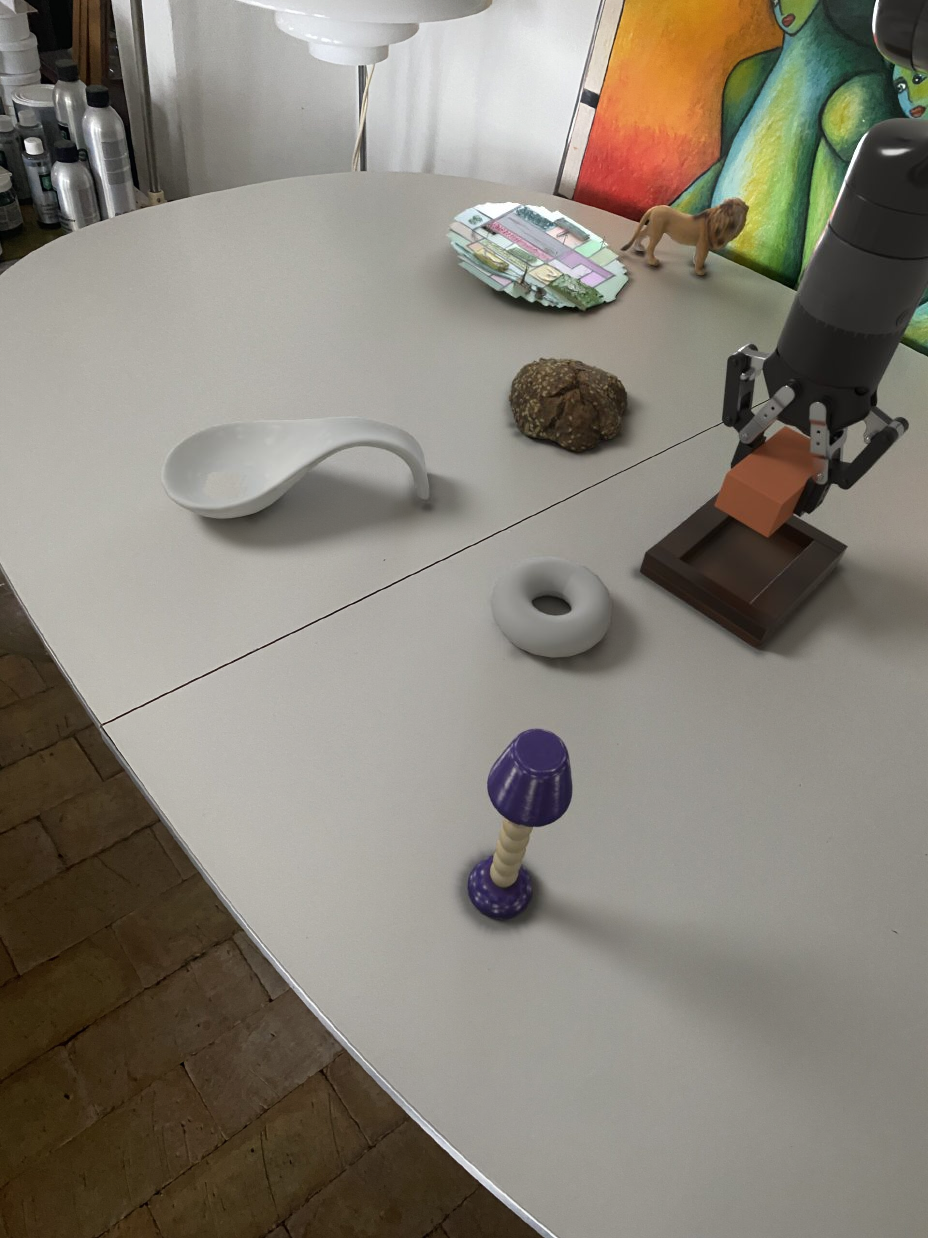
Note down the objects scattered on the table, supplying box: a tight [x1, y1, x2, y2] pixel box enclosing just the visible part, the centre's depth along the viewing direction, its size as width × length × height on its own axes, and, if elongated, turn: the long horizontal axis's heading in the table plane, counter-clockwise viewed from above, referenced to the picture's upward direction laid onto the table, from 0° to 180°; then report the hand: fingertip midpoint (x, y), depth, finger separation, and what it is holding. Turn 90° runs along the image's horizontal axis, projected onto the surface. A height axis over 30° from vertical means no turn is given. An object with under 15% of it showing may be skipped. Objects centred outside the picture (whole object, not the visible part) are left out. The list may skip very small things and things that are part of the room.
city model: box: [444, 201, 629, 312], centre depth 109 cm, size 25×23×6 cm
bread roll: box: [508, 357, 629, 453], centre depth 89 cm, size 13×12×5 cm
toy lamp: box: [467, 728, 574, 920], centre depth 51 cm, size 5×5×17 cm
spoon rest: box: [160, 415, 430, 519], centre depth 78 cm, size 24×12×7 cm, turn 99°
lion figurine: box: [619, 196, 750, 276], centre depth 111 cm, size 15×5×9 cm, turn 79°
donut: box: [490, 555, 614, 659], centre depth 71 cm, size 10×4×10 cm
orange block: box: [715, 425, 813, 538], centre depth 70 cm, size 9×5×4 cm, turn 136°
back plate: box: [639, 490, 848, 650], centre depth 77 cm, size 14×12×2 cm
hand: (771, 492), depth 71 cm, fingers closed on orange block, 5 cm apart
